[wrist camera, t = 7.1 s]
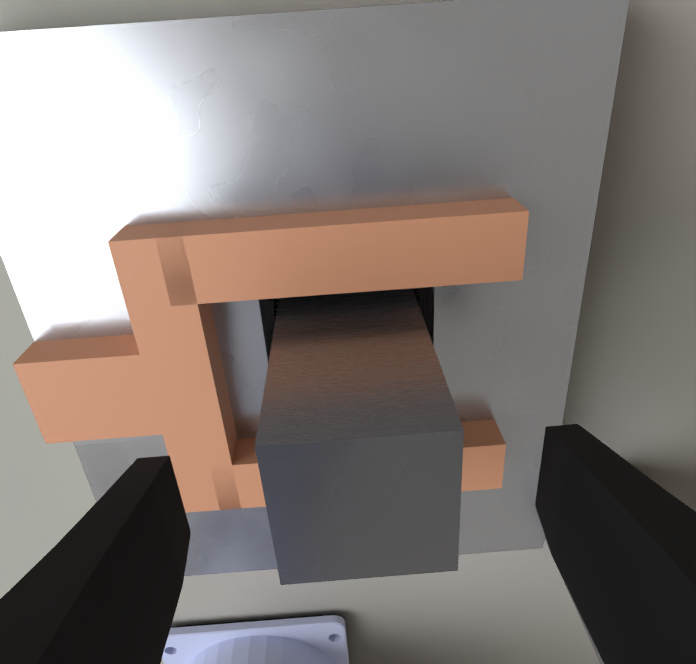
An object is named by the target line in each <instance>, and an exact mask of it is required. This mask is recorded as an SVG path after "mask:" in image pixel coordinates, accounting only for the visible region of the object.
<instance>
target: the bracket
mask: <svg viewBox="0 0 696 664" xmlns="http://www.w3.org/2000/svg"><path fill="white" fill-rule="evenodd" d="M528 218H529V210H527V209H526V208H525V207H524V206H523V205H521V204H520V203H519V202H518V201H517V200H515V199H514V198H504V199H490V200H476V201H462V202H449V203H435V204H421V205H407V206H393V207H380V208H366V209H352V210H338V211H324V212H311V213H297V214H283V215H269V216H255V217H242V218H228V219H214V220H200V221H187V222H173V223H159V224H145V225H131V226H124V227H123V228H122V229H121V230H119V231H118V232H117V233H116V234H115V235H114V236H113V237H112V238H111V239H110V240H109V241H108V245H109V248H110V252H111V255H112V259H113V262H114V266H115V269H116V273H117V276H118V280H119V283H120V287H121V290H122V294H123V298H124V301H125V305H126V308H127V312H128V315H129V319H130V322H131V326H132V329H133V333H134V334H128V335H115V336H102V337H88V338H75V339H61V340H48V341H34V342H33V343H32V344H31V346H30V347H29V348H28V349H27V350H26V351H25V352H24V353H23V354H22V355H21V356H20V357H19V358H18V359H17V360H16V361H15V362H14V363H13V366H14V368H15V371H16V373H17V376H18V378H19V380H20V383H21V385H22V388H23V390H24V392H25V395H26V397H27V400H28V402H29V404H30V407H31V409H32V412H33V414H34V416H35V419H36V421H37V424H38V426H39V428H40V431H41V433H42V436H43V438H44V440H45V443H59V442H72V441H85V440H98V439H111V438H125V437H138V436H151V435H163V438H164V442H165V446H166V449H167V453H168V456H170V459H171V462H172V466H173V469H174V473H175V477H176V480H177V484H178V487H179V491H180V495H181V498H182V502H183V505H184V509H185V512H186V513H188V512H201V511H214V510H227V509H240V508H253V507H266V504H265V499H264V493H263V488H262V483H261V477H260V472H259V467H258V462H257V456H256V451H255V442H256V437H255V438H242V439H237V434H236V429H235V424H234V419H233V414H232V409H231V404H230V399H229V394H228V389H227V384H226V379H225V374H224V369H223V364H222V359H221V354H220V349H219V344H218V339H217V334H216V329H215V324H214V319H213V314H212V309H211V304H210V303H219V302H233V301H246V300H260V299H274V298H287V297H301V296H314V295H328V294H341V293H355V292H368V291H382V290H395V289H409V288H423V287H436V286H450V285H463V284H477V283H490V282H504V281H517V280H522V279H523V269H524V259H525V249H526V238H527V228H528ZM461 423H462V426H463V429H464V442H463V464H462V487H461V491H474V490H487V489H500V488H502V481H503V471H504V461H505V451H506V443H505V441H504V439H503V436H502V434H501V432H500V430H499V428H498V425H497V423H496V421H495V419H492V420H479V421H466V422H461Z"/></svg>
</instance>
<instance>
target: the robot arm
mask: <svg viewBox="0 0 696 664" xmlns="http://www.w3.org/2000/svg"><path fill="white" fill-rule="evenodd" d="M535 507H536V510H537V513H538V516H539V519H540V522H541V525H542V528H543V531H544V534H545V537H546V540H547V543H548V545H549V548H550V551H551V554H552V556H553V559H554V561H555V563H556V565H557V567H558V569H559V571H560V574H561V576H562V578H563V580H564V582H565V584H566V586H567V588H568V590H569V592H570V595H571V597H572V599H573V601H574V603H575V605H576V607H577V609H578V611H579V613H580V615H581V617H582V619H583V621H584V623H585V626H586V628H587V630H588V632H589V634H590V636H591V638H592V640H593V642H594V644H595V646H596V648H597V650H598V652H599V654H600V657H601V659H602V661H603V663H604V664H696V512H695V511H694V510H692V509H691V508H689V507H688V506H687V505H685V504H684V503H682V502H681V501H680V500H678V499H677V498H675V497H674V496H673V495H671V494H670V493H668V492H667V491H666V490H664V489H663V488H662V487H660V486H659V485H658V484H656V483H655V482H653V481H652V480H651V479H649V478H648V477H647V476H645V475H644V474H643V473H641V472H640V471H639V470H637V469H636V468H635V467H634V466H632V465H631V464H630V463H628V462H627V461H626V460H624V459H623V458H622V457H620V456H619V455H618V454H617V453H615V452H614V451H613V450H611V449H610V448H609V447H607V446H606V445H605V444H604V443H602V442H601V441H600V440H598V439H597V438H596V437H594V436H593V435H592V434H590V433H589V432H588V431H586V430H585V429H584V428H582V427H581V426H579V425H578V424H572V425H559V426H546V428H545V435H544V443H543V450H542V457H541V465H540V472H539V479H538V486H537V494H536V501H535ZM190 535H191V530H190V527H189V523H188V520H187V516H186V512H185V509H184V505H183V502H182V498H181V495H180V491H179V487H178V484H177V480H176V477H175V473H174V469H173V466H172V462H171V459H170V456H158V457H145V458H137V459H136V460H135V461H134V462H133V464H132V465H131V466H130V467H129V468H128V469H127V470H126V471H125V472H124V473H123V474H122V475H121V476H120V477H119V479H118V480H117V481H116V482H115V483H114V484H113V485H112V486H111V487H110V488H109V489H108V490H107V492H106V493H105V494H104V495H103V496H102V497H101V498H100V499H99V500H98V501H97V502H96V503H95V505H94V506H93V507H92V508H91V509H90V510H89V511H88V512H87V513H86V514H85V515H84V516H83V517H82V518H81V520H80V521H79V522H78V523H77V524H76V525H75V526H74V527H73V528H72V529H71V530H70V531H69V532H68V533H67V534H66V535H65V536H64V537H63V538H62V539H61V540H60V542H59V543H58V544H57V545H56V546H55V547H54V548H53V549H52V550H51V551H50V552H49V553H48V554H47V555H46V556H44V557H43V558H42V559H41V560H40V561H39V562H38V563H37V564H36V565H35V566H34V567H33V568H32V569H31V570H30V571H29V572H28V573H27V574H26V575H25V576H24V577H23V578H22V579H21V580H20V581H19V582H18V583H17V584H16V585H15V586H14V587H13V588H12V589H11V590H10V591H9V592H7V593H6V594H5V595H4V596H3V597H2V598H1V599H0V664H160V662H161V659H163V662H164V664H349V655H348V645H347V635H346V625H345V620H344V619H343V618H342V617H340V616H337V615H328V616H315V617H302V618H290V619H277V620H264V621H252V622H239V623H226V624H214V625H201V626H188V627H175V628H171V624H172V621H173V617H174V614H175V610H176V607H177V603H178V600H179V596H180V592H181V589H182V585H183V579H184V574H185V568H186V562H187V555H188V549H189V542H190Z"/></svg>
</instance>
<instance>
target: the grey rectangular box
mask: <svg viewBox="0 0 696 664" xmlns="http://www.w3.org/2000/svg"><path fill="white" fill-rule="evenodd" d="M463 442H464V429H463V426H462V423H461V420H460V418H459V415H458V412H457V409H456V407H455V404H454V401H453V398H452V396H451V393H450V390H449V387H448V385H447V382H446V379H445V376H444V374H443V371H442V368H441V365H440V363H439V360H438V357H437V355H436V352H435V349H434V346H433V344H432V341H431V338H430V335H429V333H428V330H427V327H426V324H425V322H424V319H423V316H422V313H421V311H420V308H419V305H418V302H417V300H416V297H415V294H414V291H413V289H412V288H409V289H395V290H382V291H368V292H355V293H341V294H328V295H314V296H301V297H287V298H279V302H278V308H277V314H276V320H275V327H274V333H273V339H272V345H271V351H270V357H269V363H268V369H267V375H266V381H265V387H264V393H263V399H262V406H261V412H260V418H259V424H258V430H257V436H256V442H255V451H256V456H257V462H258V467H259V472H260V477H261V483H262V488H263V493H264V499H265V504H266V509H267V514H268V520H269V525H270V530H271V535H272V541H273V546H274V551H275V557H276V562H277V567H278V572H279V578H280V583H281V585H285V584H298V583H310V582H322V581H335V580H347V579H359V578H372V577H384V576H397V575H409V574H421V573H434V572H446V571H458V553H459V531H460V509H461V487H462V464H463Z"/></svg>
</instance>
